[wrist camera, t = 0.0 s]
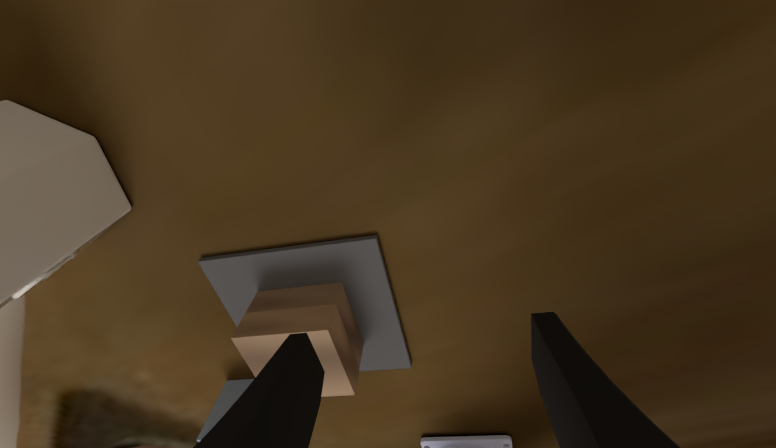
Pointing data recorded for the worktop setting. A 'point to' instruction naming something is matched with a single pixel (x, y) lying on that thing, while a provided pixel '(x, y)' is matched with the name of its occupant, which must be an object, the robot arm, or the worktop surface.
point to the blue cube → (224, 403)
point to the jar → (49, 197)
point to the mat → (315, 267)
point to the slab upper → (324, 330)
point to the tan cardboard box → (309, 298)
